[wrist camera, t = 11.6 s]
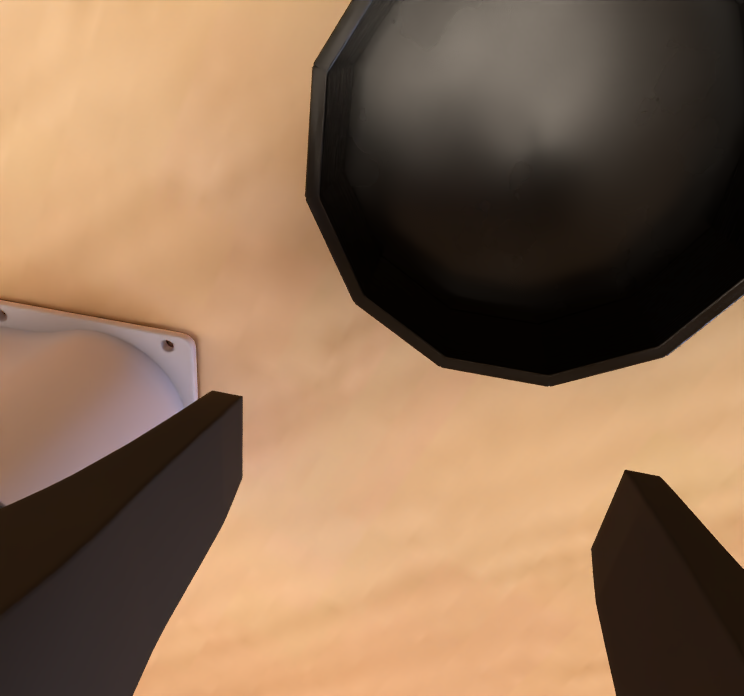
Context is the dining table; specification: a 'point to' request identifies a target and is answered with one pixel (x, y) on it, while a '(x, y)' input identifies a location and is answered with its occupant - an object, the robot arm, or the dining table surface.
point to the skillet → (533, 176)
